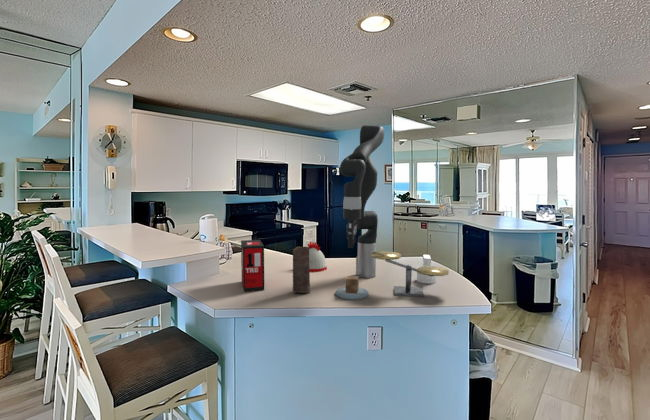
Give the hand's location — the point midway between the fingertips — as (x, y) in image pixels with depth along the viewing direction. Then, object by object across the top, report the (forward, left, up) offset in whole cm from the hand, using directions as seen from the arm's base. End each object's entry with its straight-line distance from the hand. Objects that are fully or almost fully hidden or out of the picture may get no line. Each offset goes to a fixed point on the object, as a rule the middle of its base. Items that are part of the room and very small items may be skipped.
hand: (351, 245), depth 148 cm
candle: (-17, -14, -21) cm, 30 cm away
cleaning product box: (-40, -24, -21) cm, 51 cm away
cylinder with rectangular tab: (+11, +42, -21) cm, 49 cm away
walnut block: (0, 0, -20) cm, 20 cm away
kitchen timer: (-44, +18, -21) cm, 52 cm away
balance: (+15, +20, -21) cm, 33 cm away
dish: (0, 0, -21) cm, 21 cm away
